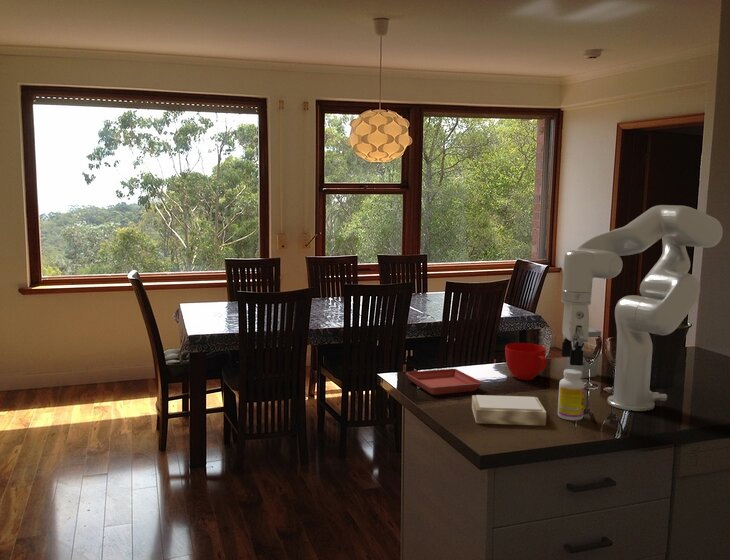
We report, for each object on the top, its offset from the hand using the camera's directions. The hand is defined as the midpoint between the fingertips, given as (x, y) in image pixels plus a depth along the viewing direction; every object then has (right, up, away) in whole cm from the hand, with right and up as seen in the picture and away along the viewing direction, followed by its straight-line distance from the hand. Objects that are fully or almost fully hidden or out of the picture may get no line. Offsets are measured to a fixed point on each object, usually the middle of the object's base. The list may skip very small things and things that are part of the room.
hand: (571, 360), depth 183 cm
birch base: (-17, -15, +2) cm, 23 cm away
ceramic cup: (-2, -11, +40) cm, 42 cm away
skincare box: (+17, -10, +46) cm, 50 cm away
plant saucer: (-31, -12, +30) cm, 45 cm away
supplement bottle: (0, -16, +2) cm, 16 cm away
